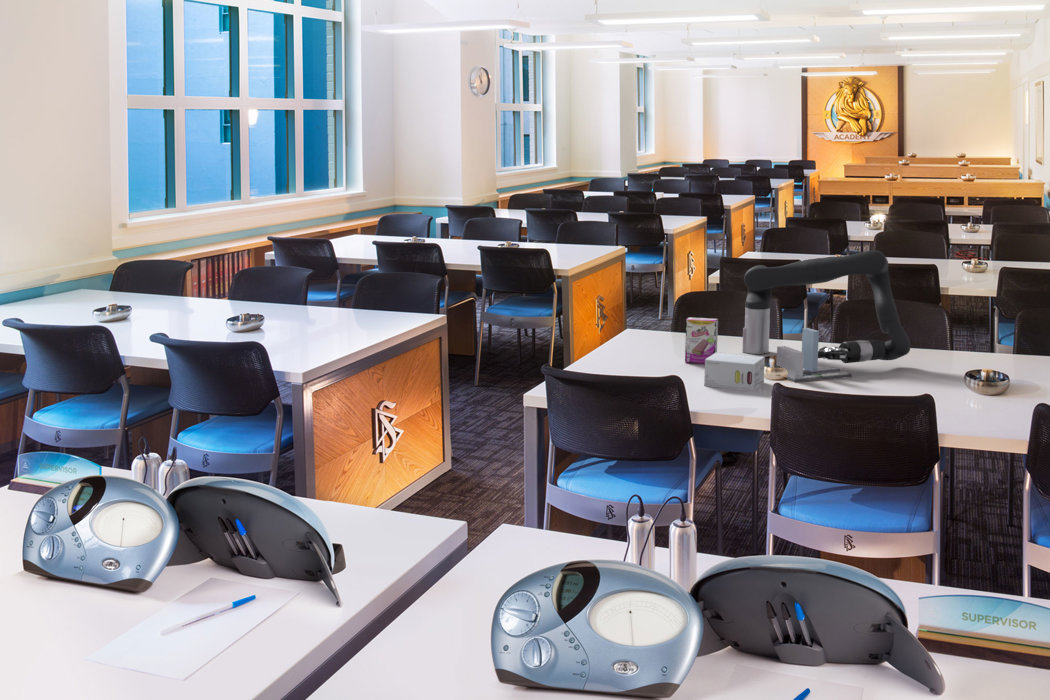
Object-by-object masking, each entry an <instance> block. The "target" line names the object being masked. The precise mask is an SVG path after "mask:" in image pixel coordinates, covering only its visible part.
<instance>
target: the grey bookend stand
mask: <svg viewBox="0 0 1050 700" xmlns="http://www.w3.org/2000/svg"><path fill="white" fill-rule="evenodd" d="M803 357H804V352H802V350H798V349H794V348H792V347H789V346H786V345H782V346H781V345H780V346H776V365H777V366H780V367H782V368H785V369H786V370H787V372H788V374H787V379H786V380H788V381H790V382H793V383H800V382H801V383H802V382H812V381H811V380H814V381H820V380H819V379H825V380H833V379H834V378H836V379H844V378H843V377H847V378H853V377H852V373H850V372H847V371H844V370H841V368H840V367H833V366H832V367H830V366H829V367H819V368H818V367H817V372H818V373H821V375H818V374H816V373H814V372H811V371H808V370H806V369H803ZM834 380H835V379H834Z"/></svg>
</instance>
